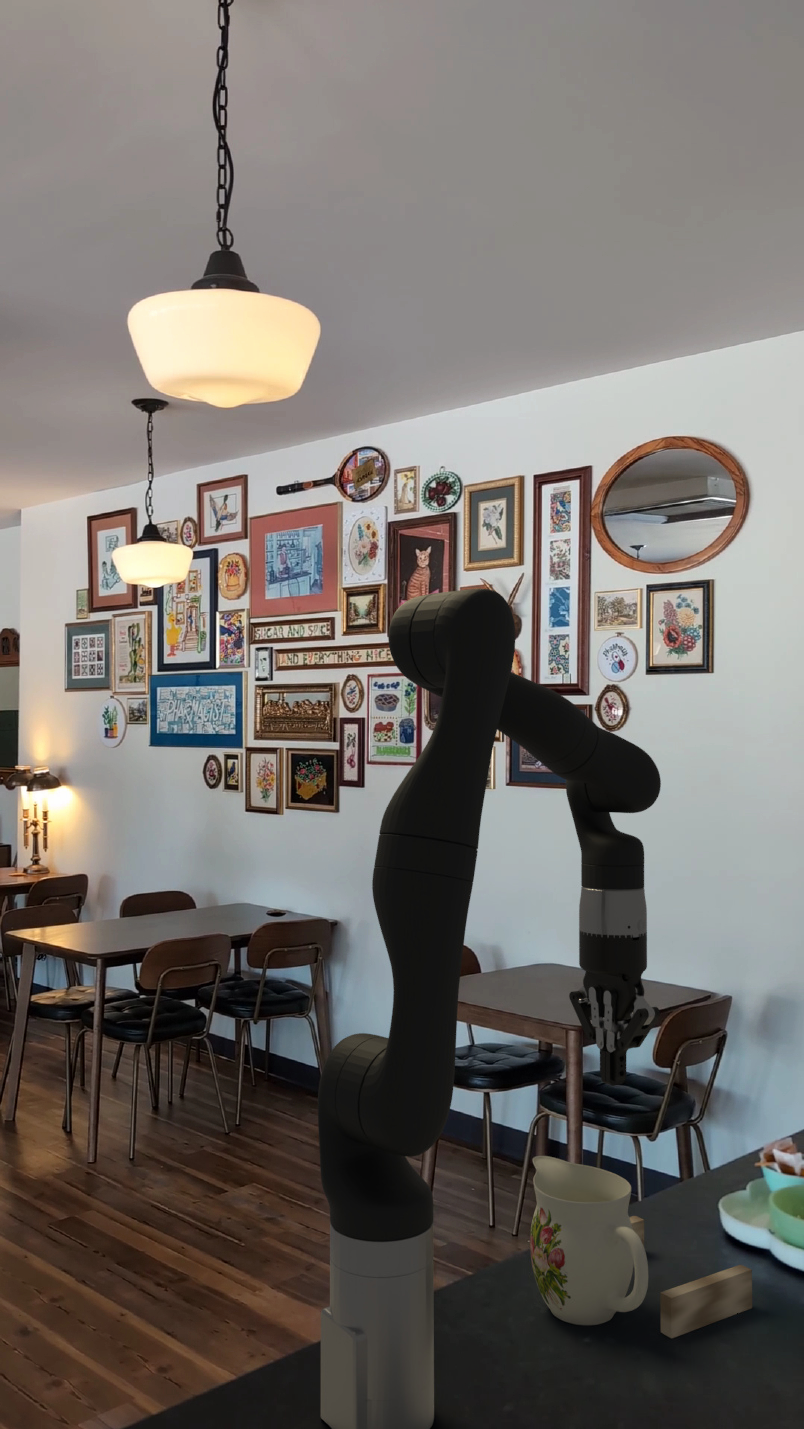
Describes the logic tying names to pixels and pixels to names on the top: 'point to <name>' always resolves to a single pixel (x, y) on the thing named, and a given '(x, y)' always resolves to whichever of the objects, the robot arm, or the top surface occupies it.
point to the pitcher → (585, 1242)
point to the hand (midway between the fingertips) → (613, 1083)
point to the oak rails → (702, 1297)
